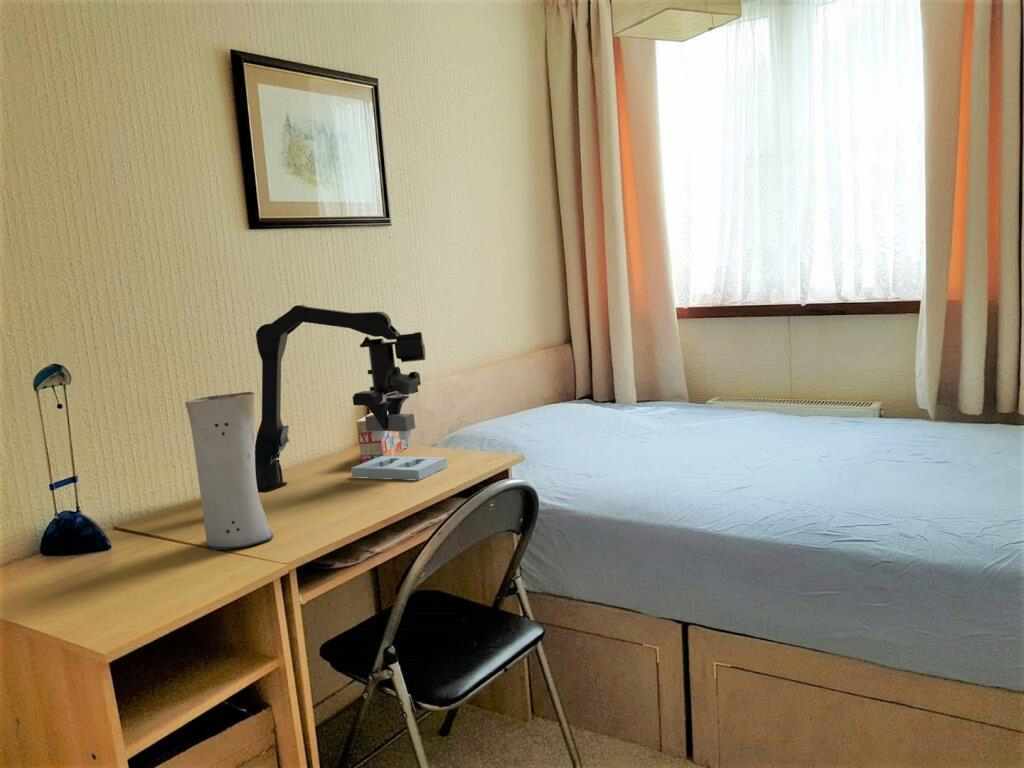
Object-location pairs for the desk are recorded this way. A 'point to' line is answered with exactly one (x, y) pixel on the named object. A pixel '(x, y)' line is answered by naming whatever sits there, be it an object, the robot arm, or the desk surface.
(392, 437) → the stack of blocks
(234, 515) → the vase
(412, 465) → the keyhole board
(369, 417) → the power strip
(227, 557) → the desk surface
